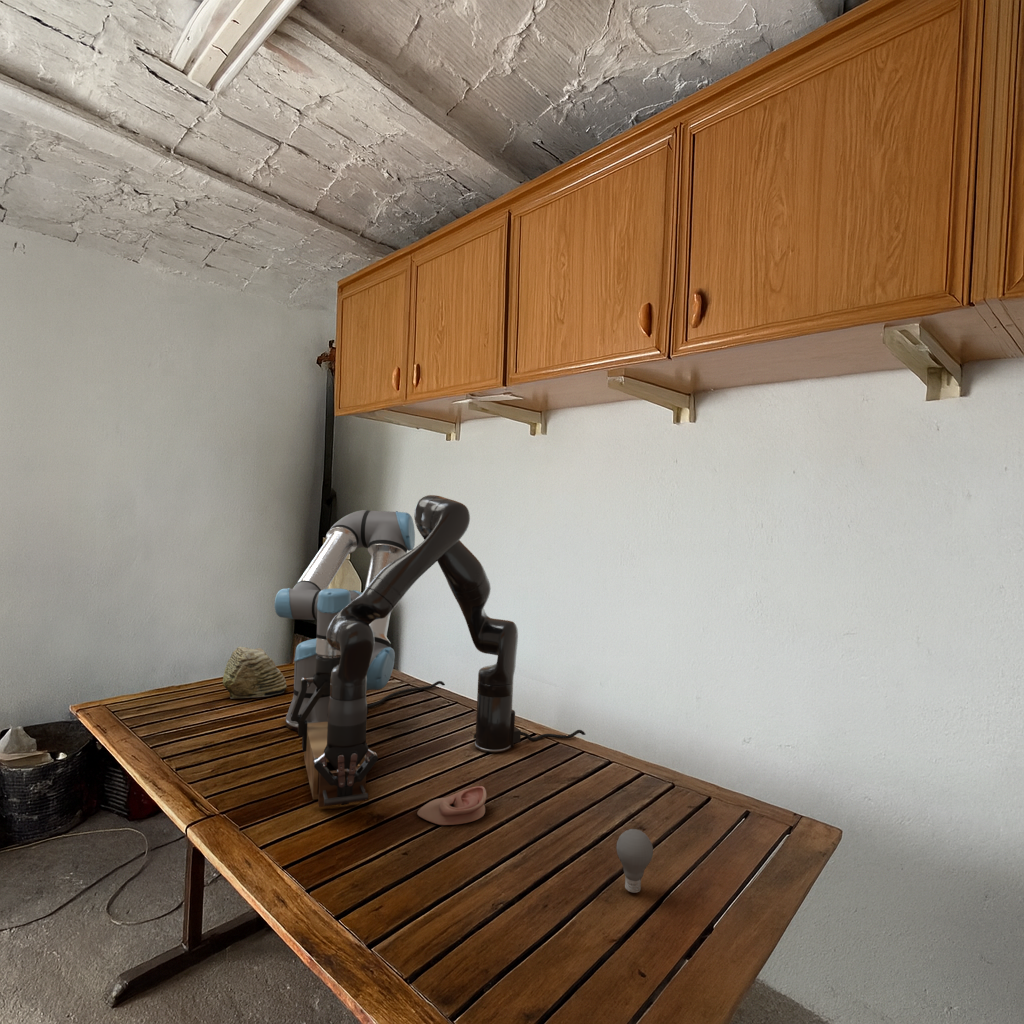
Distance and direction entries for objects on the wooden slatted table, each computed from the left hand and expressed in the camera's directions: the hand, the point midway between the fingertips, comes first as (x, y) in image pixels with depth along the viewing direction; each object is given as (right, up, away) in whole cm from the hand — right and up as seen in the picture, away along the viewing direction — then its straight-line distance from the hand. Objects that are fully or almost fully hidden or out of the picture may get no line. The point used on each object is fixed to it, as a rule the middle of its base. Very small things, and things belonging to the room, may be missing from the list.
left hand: (328, 746), depth 151 cm
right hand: (+10, -2, -25) cm, 27 cm away
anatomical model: (+32, -5, -22) cm, 39 cm away
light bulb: (+64, -7, -46) cm, 79 cm away
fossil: (-37, -1, +47) cm, 59 cm away
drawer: (+6, -3, -15) cm, 17 cm away
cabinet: (+3, -4, -7) cm, 8 cm away
